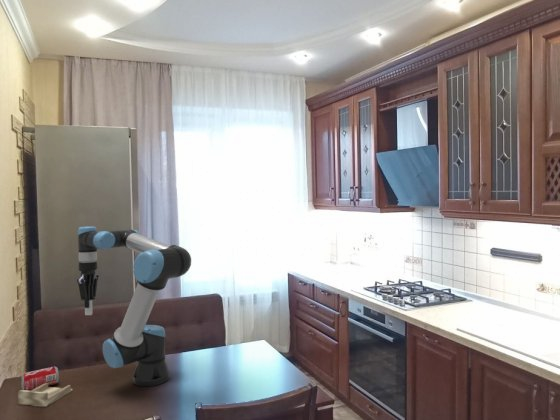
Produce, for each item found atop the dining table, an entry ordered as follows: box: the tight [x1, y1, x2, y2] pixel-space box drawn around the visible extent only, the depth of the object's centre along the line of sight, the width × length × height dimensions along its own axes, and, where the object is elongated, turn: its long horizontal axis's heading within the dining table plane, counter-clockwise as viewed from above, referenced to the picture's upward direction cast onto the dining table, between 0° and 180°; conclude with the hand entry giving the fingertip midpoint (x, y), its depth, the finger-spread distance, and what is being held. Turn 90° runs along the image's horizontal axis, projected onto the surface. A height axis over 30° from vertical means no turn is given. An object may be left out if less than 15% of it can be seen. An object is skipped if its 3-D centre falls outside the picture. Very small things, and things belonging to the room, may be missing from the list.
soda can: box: [20, 366, 60, 391], centre depth 179 cm, size 7×7×13 cm
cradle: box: [17, 383, 74, 408], centre depth 170 cm, size 12×15×5 cm
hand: (88, 314), depth 191 cm, fingers closed
